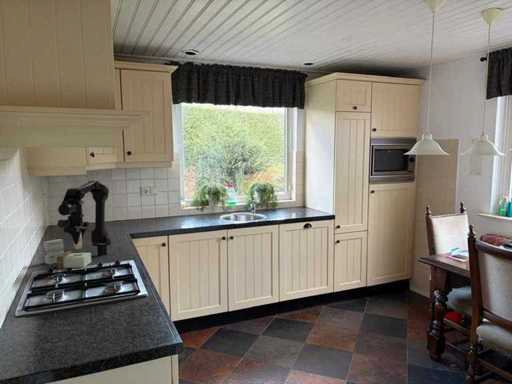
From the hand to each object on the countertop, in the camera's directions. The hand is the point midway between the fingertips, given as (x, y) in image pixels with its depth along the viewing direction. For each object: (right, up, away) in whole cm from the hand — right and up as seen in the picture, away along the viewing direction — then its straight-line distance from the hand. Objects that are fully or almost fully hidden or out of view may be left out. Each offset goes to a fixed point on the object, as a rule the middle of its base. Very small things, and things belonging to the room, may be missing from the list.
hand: (77, 243), depth 194 cm
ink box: (-18, -12, +13) cm, 25 cm away
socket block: (0, -11, +1) cm, 11 cm away
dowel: (0, -3, 0) cm, 3 cm away
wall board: (+8, -12, +1) cm, 15 cm away
